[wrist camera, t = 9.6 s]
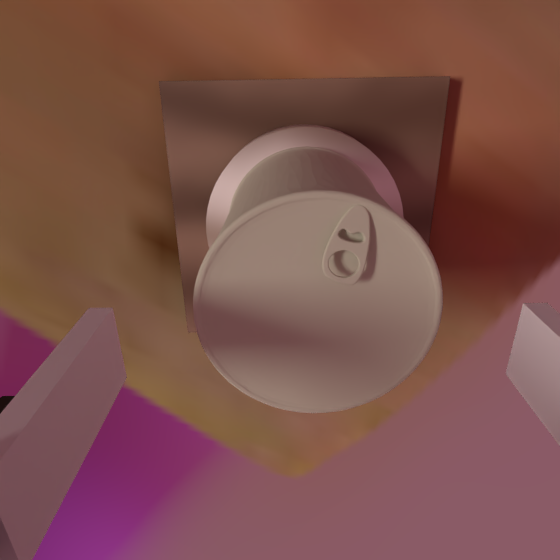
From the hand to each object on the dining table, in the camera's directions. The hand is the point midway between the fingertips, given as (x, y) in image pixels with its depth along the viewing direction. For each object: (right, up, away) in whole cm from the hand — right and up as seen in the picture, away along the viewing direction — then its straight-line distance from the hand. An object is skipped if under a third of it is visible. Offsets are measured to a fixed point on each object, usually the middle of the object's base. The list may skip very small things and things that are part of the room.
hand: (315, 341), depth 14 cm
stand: (0, +6, +16) cm, 17 cm away
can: (0, +5, +12) cm, 14 cm away
